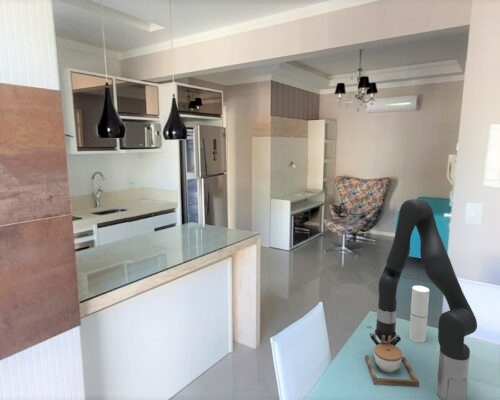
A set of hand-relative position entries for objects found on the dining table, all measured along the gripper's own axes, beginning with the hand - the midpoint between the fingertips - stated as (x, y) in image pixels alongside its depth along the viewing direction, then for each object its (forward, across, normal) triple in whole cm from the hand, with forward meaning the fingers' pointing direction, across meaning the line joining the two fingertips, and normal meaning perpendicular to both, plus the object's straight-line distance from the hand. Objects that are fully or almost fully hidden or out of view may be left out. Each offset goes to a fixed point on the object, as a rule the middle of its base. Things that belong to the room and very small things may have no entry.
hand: (383, 355), depth 148 cm
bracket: (+2, 0, -8) cm, 9 cm away
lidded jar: (+2, 0, -6) cm, 6 cm away
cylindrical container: (+2, +20, +18) cm, 27 cm away
